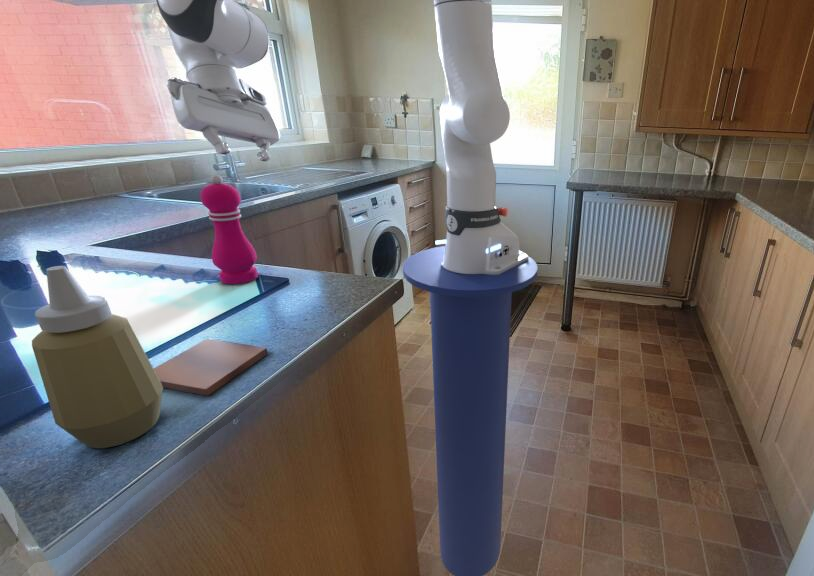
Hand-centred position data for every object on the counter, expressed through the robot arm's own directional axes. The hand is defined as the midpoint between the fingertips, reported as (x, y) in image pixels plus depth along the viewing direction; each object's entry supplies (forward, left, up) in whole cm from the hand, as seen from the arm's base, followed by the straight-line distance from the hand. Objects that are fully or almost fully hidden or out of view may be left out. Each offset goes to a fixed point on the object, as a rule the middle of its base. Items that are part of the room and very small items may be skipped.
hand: (245, 156), depth 83 cm
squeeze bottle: (+29, +47, -22) cm, 59 cm away
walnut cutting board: (+20, +40, -22) cm, 50 cm away
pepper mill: (+8, +9, -22) cm, 25 cm away
